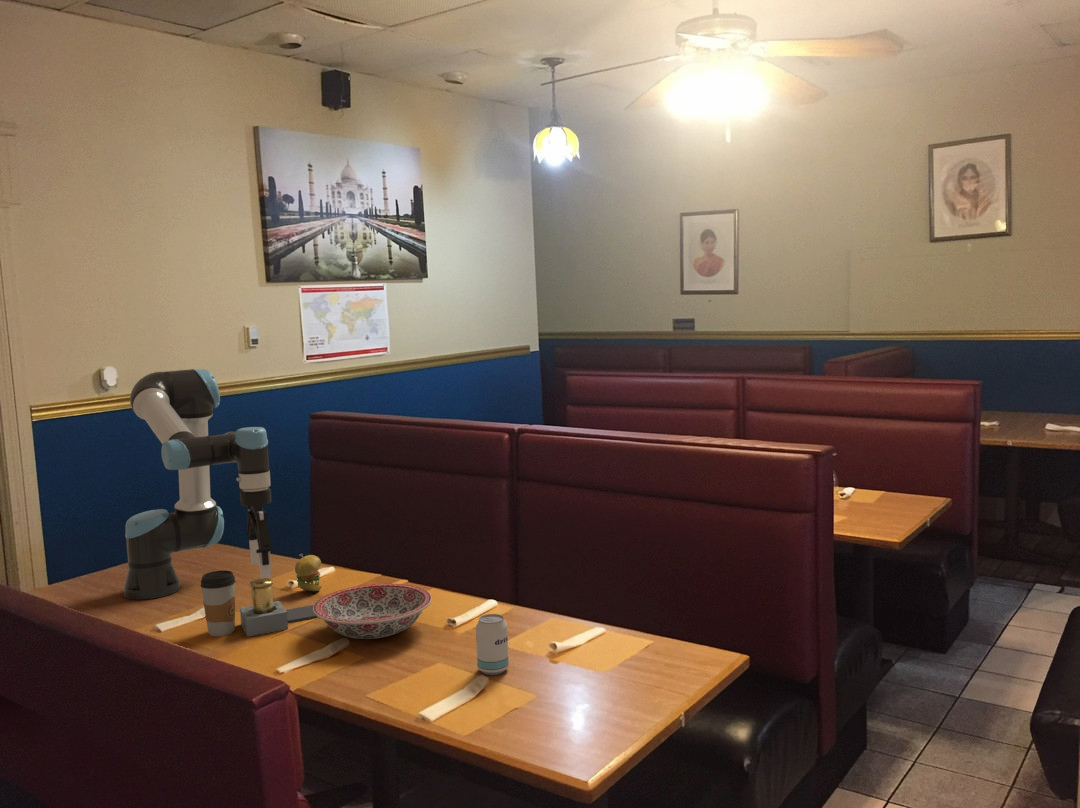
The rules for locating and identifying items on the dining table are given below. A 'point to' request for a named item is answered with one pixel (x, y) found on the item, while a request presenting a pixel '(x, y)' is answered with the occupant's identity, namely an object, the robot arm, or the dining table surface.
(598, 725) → the dining table surface
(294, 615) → the rubber mat
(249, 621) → the housing
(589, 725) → the dining table surface
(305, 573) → the hamburger
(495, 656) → the beverage can
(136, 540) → the robot arm
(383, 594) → the ceramic bowl
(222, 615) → the coffee cup
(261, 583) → the gold round-topped cylinder
